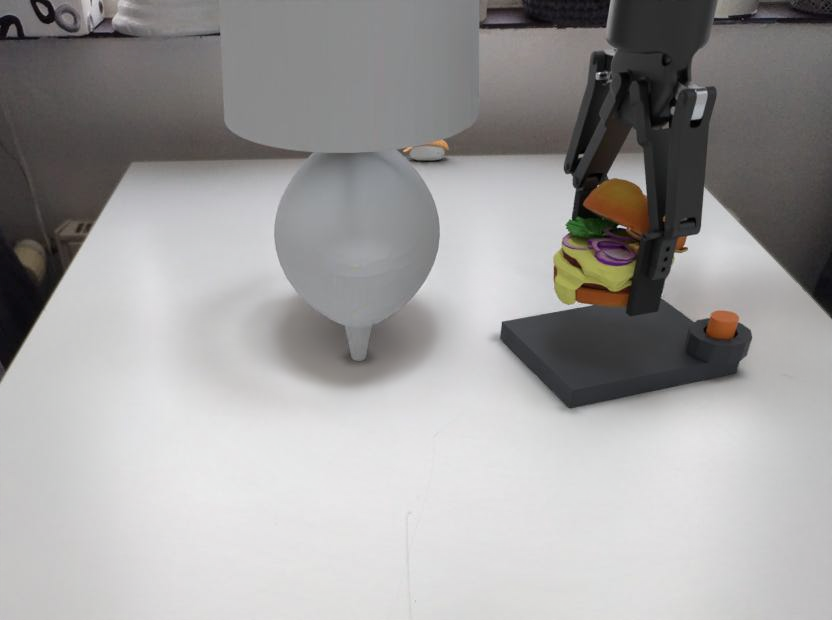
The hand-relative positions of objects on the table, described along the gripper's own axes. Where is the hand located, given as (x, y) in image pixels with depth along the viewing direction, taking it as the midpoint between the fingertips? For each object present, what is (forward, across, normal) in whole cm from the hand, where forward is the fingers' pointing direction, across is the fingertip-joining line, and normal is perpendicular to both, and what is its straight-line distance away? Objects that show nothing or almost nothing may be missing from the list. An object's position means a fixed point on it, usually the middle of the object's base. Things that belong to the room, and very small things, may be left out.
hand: (609, 287), depth 79 cm
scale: (+6, 0, +2) cm, 7 cm away
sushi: (+7, -59, +7) cm, 60 cm away
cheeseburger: (0, 0, 0) cm, 0 cm away
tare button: (+3, +6, +8) cm, 11 cm away
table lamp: (+7, -14, -20) cm, 25 cm away
